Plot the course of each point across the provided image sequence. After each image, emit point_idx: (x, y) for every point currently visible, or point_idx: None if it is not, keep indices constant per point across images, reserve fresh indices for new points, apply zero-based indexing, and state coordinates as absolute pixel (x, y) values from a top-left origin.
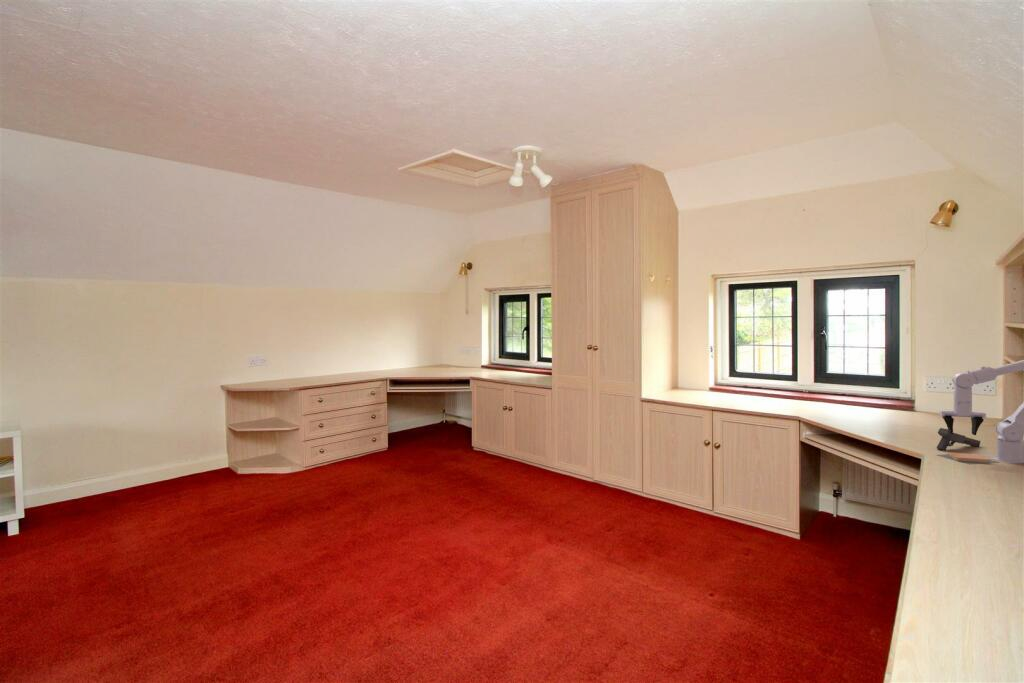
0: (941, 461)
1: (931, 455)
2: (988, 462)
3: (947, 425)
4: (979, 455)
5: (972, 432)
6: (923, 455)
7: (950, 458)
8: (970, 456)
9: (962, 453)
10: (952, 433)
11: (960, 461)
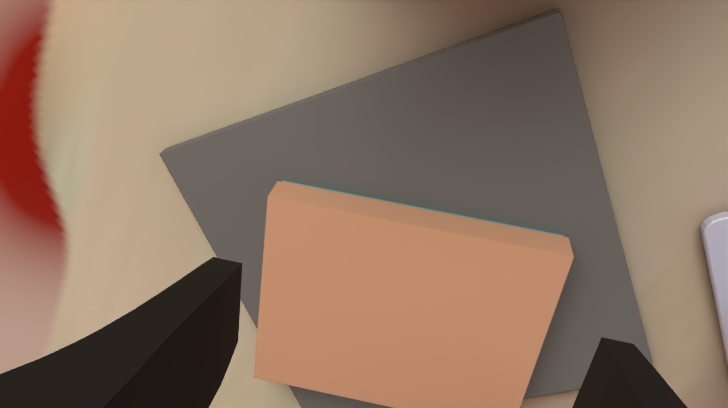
0: None
1: (135, 119)
2: (533, 381)
3: (109, 344)
4: (543, 299)
5: (598, 389)
6: (55, 130)
7: (251, 276)
8: (410, 343)
9: (401, 232)
10: (228, 350)
11: None
